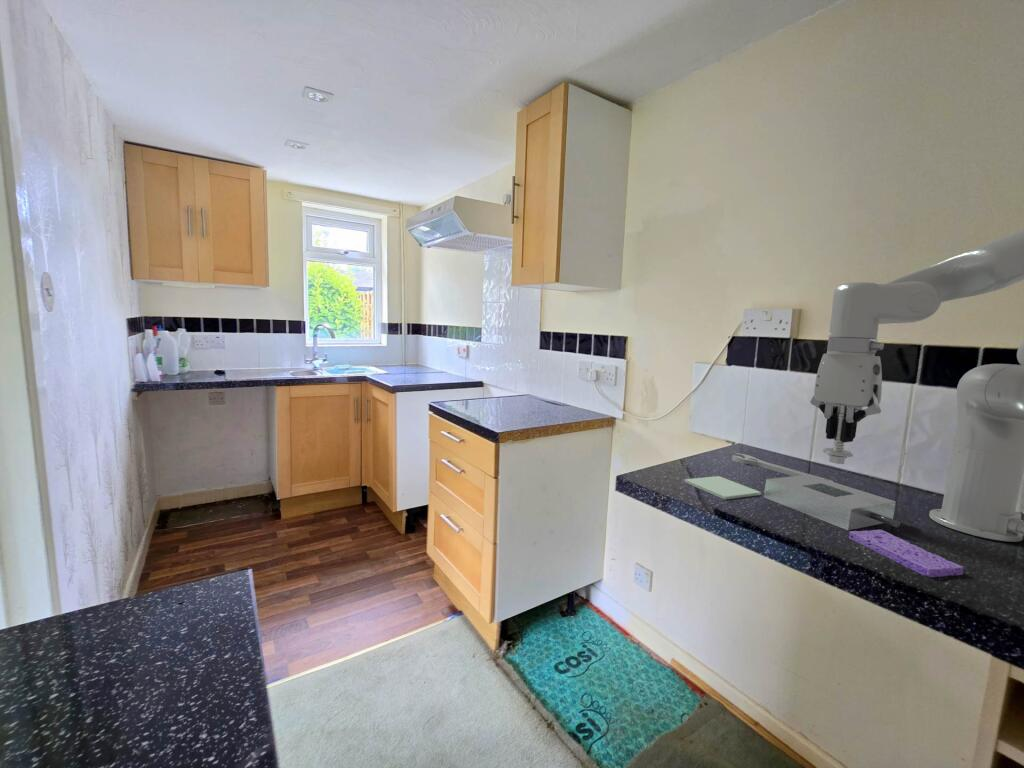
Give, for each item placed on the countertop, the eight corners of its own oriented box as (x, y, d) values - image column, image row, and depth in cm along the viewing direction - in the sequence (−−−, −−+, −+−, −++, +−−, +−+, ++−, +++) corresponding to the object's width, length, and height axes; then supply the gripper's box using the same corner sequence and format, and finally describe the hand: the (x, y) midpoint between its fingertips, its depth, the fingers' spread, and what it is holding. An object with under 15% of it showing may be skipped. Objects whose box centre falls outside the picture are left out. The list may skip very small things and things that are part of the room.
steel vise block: (917, 530, 83) (921, 509, 82) (873, 540, 77) (877, 518, 76) (806, 491, 101) (809, 474, 101) (763, 497, 95) (766, 479, 95)
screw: (831, 458, 93) (856, 464, 88) (816, 459, 91) (842, 466, 86) (838, 396, 91) (865, 399, 87) (824, 396, 89) (850, 400, 85)
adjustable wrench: (835, 487, 108) (836, 480, 107) (820, 490, 105) (821, 483, 104) (740, 458, 129) (741, 452, 129) (725, 459, 126) (726, 453, 126)
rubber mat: (760, 494, 97) (761, 492, 97) (724, 499, 92) (725, 496, 92) (718, 478, 107) (718, 476, 106) (684, 481, 102) (684, 479, 102)
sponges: (879, 539, 79) (881, 529, 78) (964, 578, 66) (966, 566, 66) (846, 540, 77) (848, 530, 77) (927, 580, 65) (929, 568, 65)
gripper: (910, 350, 81) (897, 448, 83) (820, 346, 96) (810, 430, 98) (887, 349, 78) (874, 451, 80) (798, 345, 93) (788, 432, 95)
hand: (839, 439), depth 89 cm, fingers closed on screw, 2 cm apart
